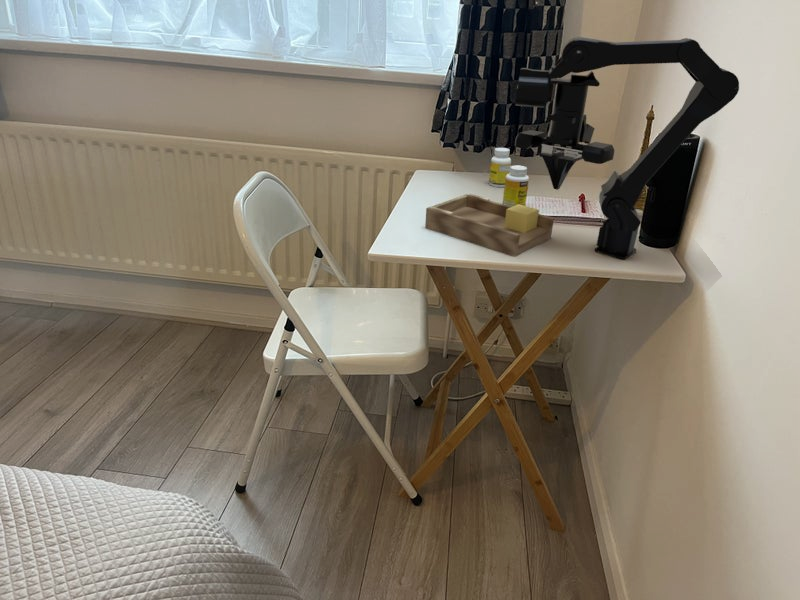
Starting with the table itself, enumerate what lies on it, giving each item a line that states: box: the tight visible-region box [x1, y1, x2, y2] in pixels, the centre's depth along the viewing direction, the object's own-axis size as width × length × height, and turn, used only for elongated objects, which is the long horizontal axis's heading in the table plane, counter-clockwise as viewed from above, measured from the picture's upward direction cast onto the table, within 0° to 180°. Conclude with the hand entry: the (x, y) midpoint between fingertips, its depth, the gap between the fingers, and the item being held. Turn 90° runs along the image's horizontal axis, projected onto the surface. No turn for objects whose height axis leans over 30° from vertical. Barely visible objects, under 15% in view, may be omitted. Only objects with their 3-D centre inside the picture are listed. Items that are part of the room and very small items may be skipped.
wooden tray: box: [424, 193, 555, 257], centre depth 132 cm, size 23×15×5 cm, turn 49°
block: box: [505, 204, 540, 233], centre depth 130 cm, size 5×5×4 cm
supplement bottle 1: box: [488, 147, 512, 188], centre depth 165 cm, size 5×5×10 cm
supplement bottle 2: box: [502, 164, 530, 207], centre depth 146 cm, size 6×6×10 cm
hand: (556, 189), depth 122 cm, fingers closed
